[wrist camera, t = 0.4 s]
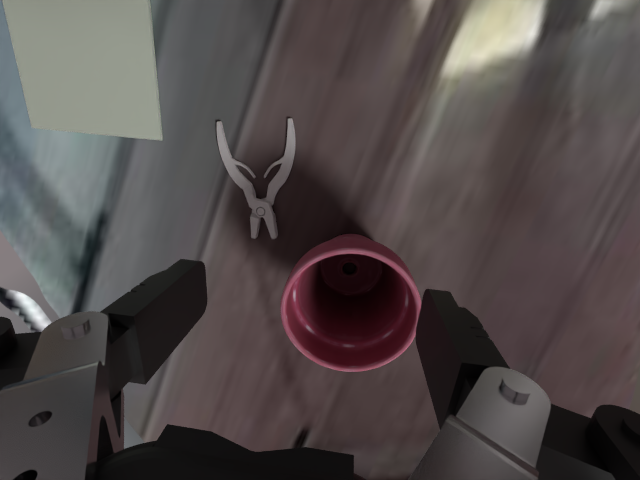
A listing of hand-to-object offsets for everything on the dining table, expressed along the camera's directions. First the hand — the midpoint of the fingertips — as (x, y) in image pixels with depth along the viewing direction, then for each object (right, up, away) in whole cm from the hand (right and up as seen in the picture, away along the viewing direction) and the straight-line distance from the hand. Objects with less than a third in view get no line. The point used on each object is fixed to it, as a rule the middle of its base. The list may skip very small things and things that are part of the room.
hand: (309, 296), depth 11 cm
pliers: (-7, +10, +29) cm, 31 cm away
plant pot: (+5, -1, +31) cm, 31 cm away
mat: (-28, +24, +26) cm, 45 cm away
